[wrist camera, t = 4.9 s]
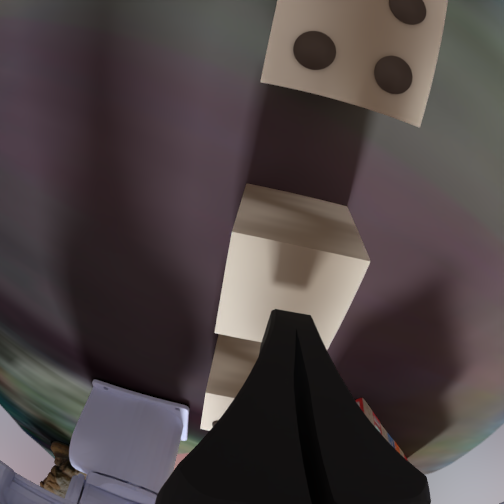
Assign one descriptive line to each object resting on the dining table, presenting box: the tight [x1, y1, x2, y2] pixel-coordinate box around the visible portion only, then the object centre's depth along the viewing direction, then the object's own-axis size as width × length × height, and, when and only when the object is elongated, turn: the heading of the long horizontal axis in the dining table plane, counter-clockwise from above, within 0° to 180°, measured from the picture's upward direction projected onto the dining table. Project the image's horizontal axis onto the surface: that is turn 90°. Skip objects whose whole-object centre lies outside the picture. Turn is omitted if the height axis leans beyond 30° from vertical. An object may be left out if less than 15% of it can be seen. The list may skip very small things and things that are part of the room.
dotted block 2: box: [261, 0, 448, 128], centre depth 9 cm, size 5×5×5 cm
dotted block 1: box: [200, 334, 261, 431], centre depth 19 cm, size 5×5×5 cm
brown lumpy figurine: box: [40, 441, 87, 498], centre depth 39 cm, size 18×12×17 cm, turn 168°
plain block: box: [215, 183, 371, 350], centre depth 14 cm, size 5×5×5 cm
